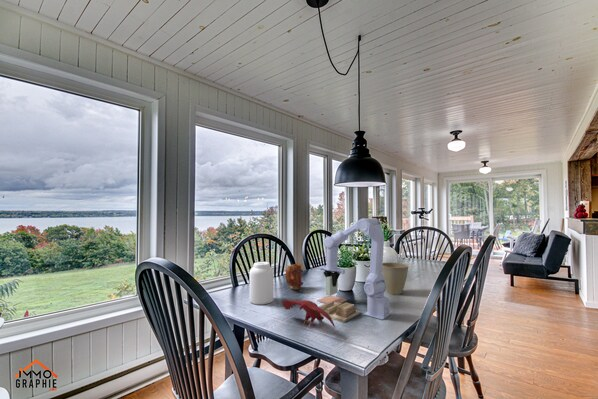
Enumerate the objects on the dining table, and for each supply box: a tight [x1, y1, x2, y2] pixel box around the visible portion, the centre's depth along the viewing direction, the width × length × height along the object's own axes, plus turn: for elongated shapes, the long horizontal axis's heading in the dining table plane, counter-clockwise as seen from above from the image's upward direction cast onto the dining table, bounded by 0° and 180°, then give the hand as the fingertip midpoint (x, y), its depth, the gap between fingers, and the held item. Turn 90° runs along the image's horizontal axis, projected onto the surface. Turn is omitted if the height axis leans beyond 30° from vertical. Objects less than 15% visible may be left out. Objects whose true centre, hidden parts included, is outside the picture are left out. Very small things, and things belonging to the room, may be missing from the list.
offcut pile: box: [336, 302, 357, 318], centre depth 133 cm, size 5×9×3 cm, turn 139°
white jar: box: [249, 261, 275, 305], centre depth 154 cm, size 12×12×20 cm
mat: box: [316, 295, 348, 305], centre depth 154 cm, size 11×11×1 cm
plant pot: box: [382, 262, 409, 296], centre depth 168 cm, size 15×15×16 cm
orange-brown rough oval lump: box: [285, 263, 304, 290], centre depth 175 cm, size 15×8×15 cm, turn 149°
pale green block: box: [325, 276, 339, 296], centre depth 154 cm, size 2×7×9 cm, turn 139°
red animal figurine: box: [282, 299, 336, 328], centre depth 123 cm, size 28×9×15 cm
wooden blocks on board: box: [318, 301, 361, 323], centre depth 136 cm, size 16×14×3 cm
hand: (332, 285), depth 154 cm, fingers closed on pale green block, 2 cm apart
